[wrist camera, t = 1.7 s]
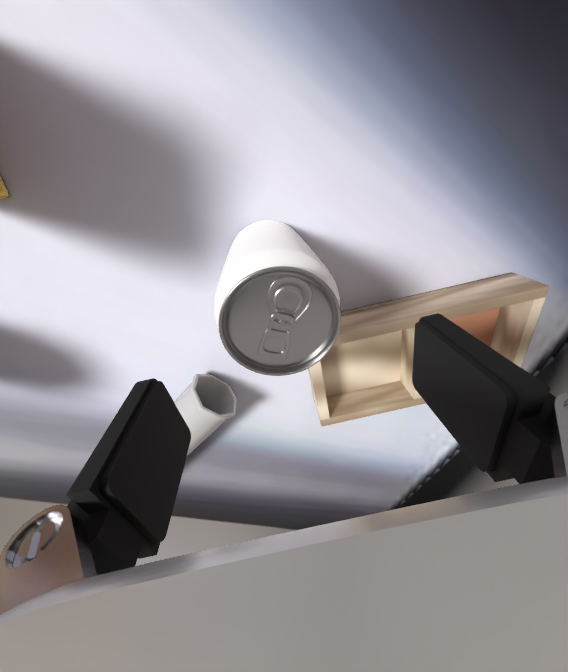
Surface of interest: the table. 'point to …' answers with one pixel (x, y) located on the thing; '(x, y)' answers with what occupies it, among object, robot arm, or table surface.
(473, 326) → the slot rack
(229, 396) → the tube
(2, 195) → the candy box
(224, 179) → the table surface
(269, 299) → the can
